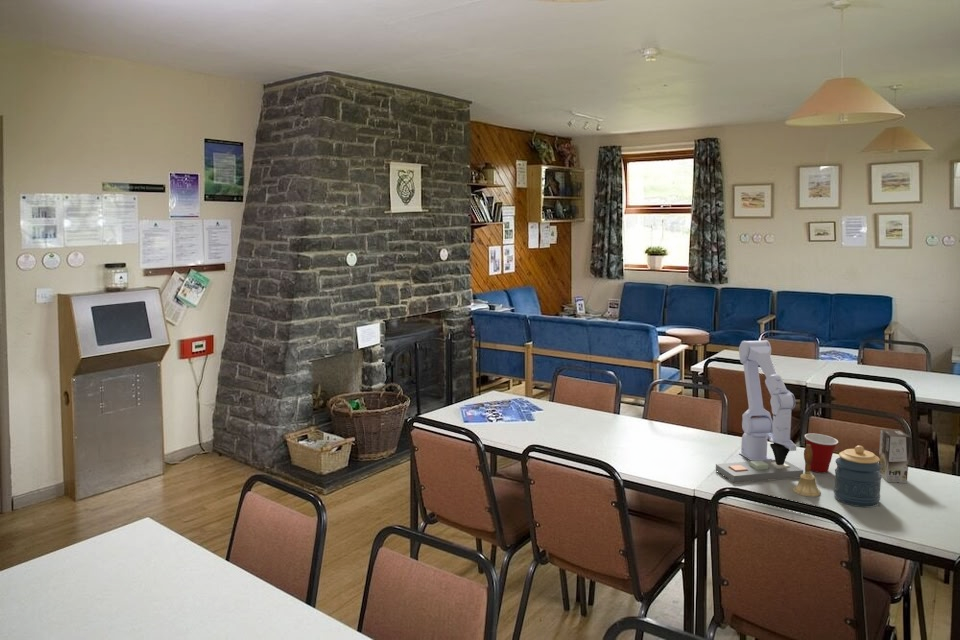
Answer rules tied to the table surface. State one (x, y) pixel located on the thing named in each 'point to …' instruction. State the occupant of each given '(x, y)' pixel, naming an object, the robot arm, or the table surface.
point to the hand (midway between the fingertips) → (779, 464)
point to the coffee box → (894, 455)
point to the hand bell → (807, 477)
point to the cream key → (779, 465)
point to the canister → (858, 477)
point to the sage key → (759, 465)
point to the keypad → (758, 472)
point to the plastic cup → (821, 451)
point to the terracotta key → (737, 468)
